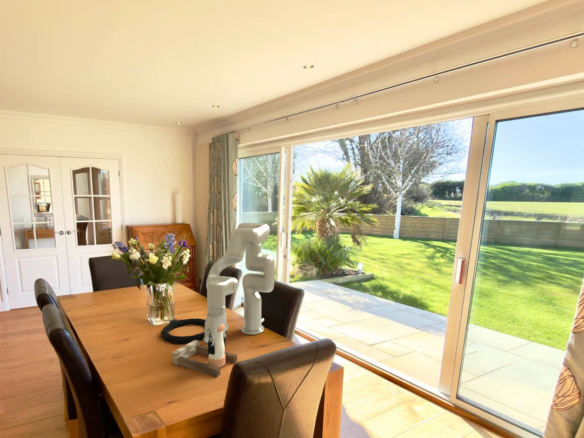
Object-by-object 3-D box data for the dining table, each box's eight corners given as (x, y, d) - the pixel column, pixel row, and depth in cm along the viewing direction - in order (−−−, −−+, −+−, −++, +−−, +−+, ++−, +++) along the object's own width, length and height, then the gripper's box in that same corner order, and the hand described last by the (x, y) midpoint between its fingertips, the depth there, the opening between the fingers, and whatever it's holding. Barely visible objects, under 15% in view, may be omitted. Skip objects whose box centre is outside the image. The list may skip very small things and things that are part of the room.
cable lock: (179, 343, 151) (148, 326, 170) (179, 350, 151) (148, 333, 170) (225, 325, 172) (193, 312, 191) (225, 332, 172) (193, 318, 191)
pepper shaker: (212, 370, 132) (211, 325, 131) (205, 362, 138) (205, 319, 137) (228, 364, 137) (228, 321, 135) (221, 357, 143) (221, 316, 141)
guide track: (195, 350, 151) (195, 339, 151) (237, 361, 141) (237, 350, 141) (172, 363, 138) (172, 352, 138) (217, 377, 128) (217, 365, 128)
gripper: (221, 302, 145) (222, 340, 146) (195, 315, 129) (196, 357, 131) (235, 304, 142) (235, 343, 143) (210, 318, 126) (210, 361, 128)
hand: (216, 349), depth 137 cm, fingers closed on pepper shaker, 6 cm apart
